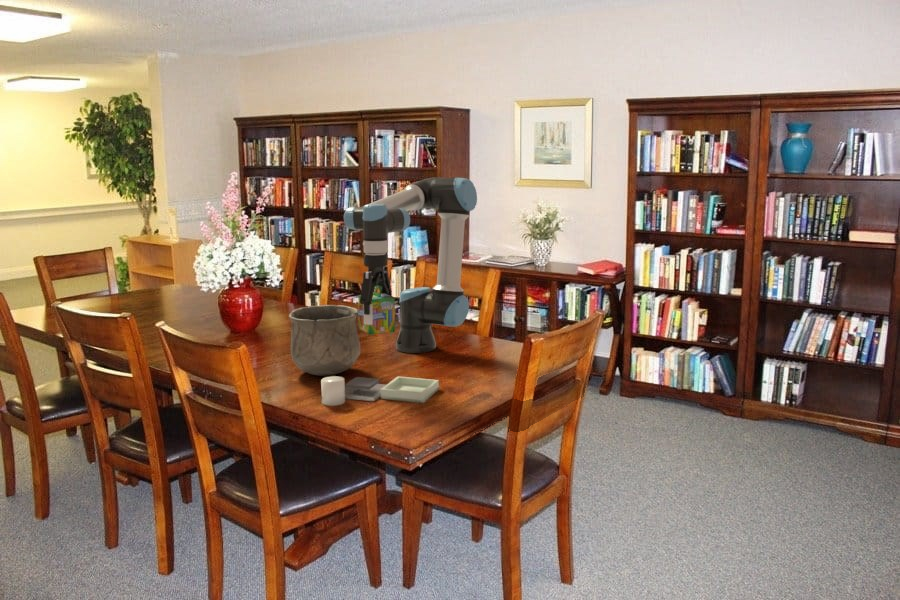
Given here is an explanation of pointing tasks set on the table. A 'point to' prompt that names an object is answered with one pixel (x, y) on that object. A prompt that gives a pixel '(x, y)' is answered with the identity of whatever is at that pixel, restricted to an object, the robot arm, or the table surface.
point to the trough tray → (410, 389)
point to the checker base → (364, 393)
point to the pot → (324, 339)
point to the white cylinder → (333, 390)
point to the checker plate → (362, 383)
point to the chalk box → (379, 314)
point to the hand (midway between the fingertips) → (376, 320)
